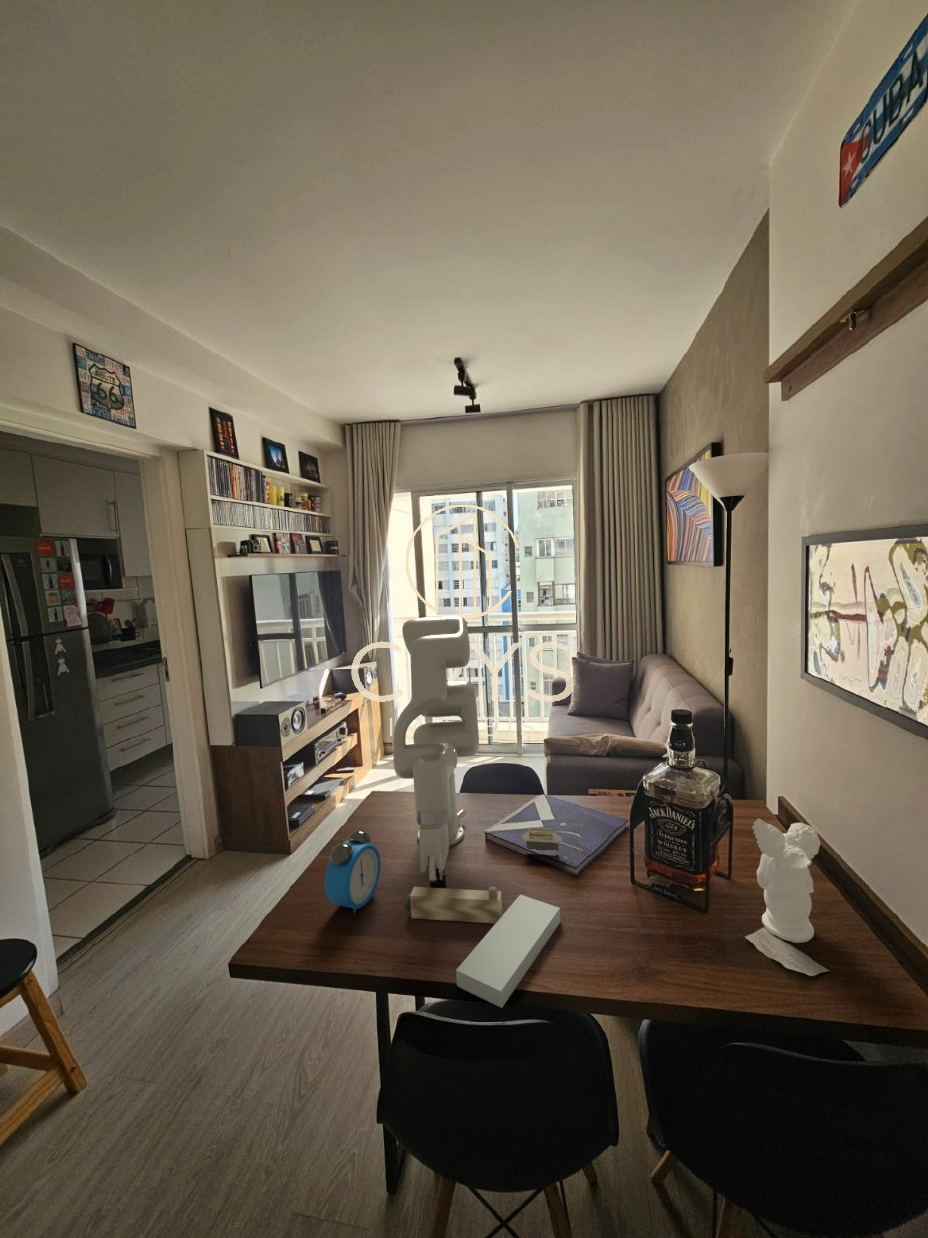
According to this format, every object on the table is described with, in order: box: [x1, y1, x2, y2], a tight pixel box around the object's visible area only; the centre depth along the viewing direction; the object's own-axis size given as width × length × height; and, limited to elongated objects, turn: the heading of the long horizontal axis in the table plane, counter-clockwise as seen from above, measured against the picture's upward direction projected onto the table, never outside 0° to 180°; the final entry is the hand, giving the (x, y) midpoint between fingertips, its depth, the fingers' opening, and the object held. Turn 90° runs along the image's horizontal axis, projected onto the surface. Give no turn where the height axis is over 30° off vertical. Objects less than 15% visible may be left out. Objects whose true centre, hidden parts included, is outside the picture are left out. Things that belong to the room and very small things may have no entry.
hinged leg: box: [404, 886, 503, 924], centre depth 108 cm, size 20×3×6 cm, turn 80°
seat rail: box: [455, 894, 561, 1009], centre depth 98 cm, size 24×9×3 cm, turn 146°
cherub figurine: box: [752, 817, 821, 944], centre depth 97 cm, size 12×12×22 cm
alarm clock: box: [324, 828, 381, 914], centre depth 115 cm, size 13×6×15 cm, turn 156°
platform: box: [521, 827, 563, 851], centre depth 131 cm, size 12×18×7 cm, turn 77°
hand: (438, 893), depth 113 cm, fingers closed
